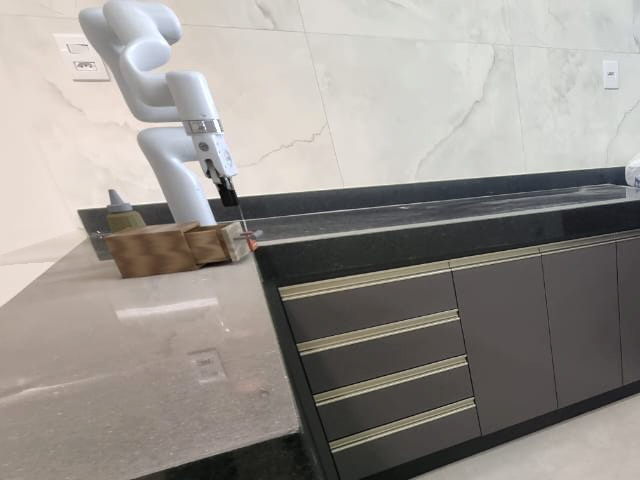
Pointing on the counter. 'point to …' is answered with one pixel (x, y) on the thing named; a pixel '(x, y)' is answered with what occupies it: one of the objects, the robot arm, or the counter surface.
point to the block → (251, 242)
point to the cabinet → (152, 249)
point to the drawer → (219, 242)
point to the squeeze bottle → (121, 214)
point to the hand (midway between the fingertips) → (232, 205)
